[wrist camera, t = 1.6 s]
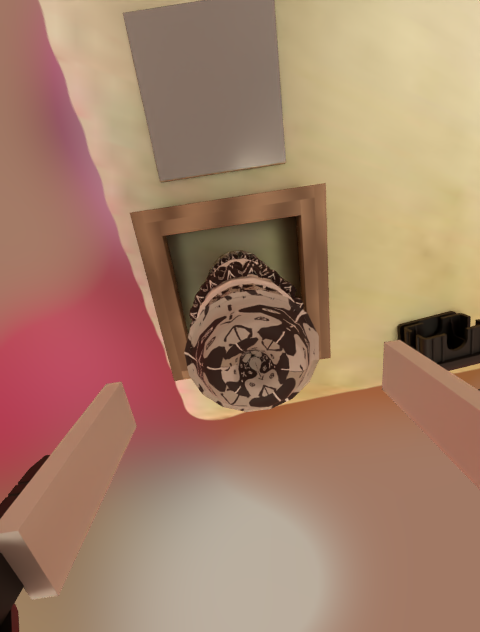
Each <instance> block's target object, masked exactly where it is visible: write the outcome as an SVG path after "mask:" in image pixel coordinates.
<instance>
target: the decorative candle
mask: <svg viewBox="0 0 480 632" xmlns="http://www.w3.org/2000/svg"><path fill="white" fill-rule="evenodd" d="M295 293H296V288H295V287H294V286H293V285H292V284H291V283H289V282H287V281H284V279H283V278H281V277H280V276H279V274H278V273H277V272H276V271H274V270H271V269H270V268H269V267H268V266H266V265H265V263H264V262H263V261H261V260H259V259H258V258H257V257H256V256H255V255H254V254H251V253H248V252H245V251H241V250H240V251H232V252H228V253H226V254H225V255H223V256H221V257H219V258H218V260H217V261H216V262H215V263H214V265H213V266H212V269H211V270H210V272H209V275H208V277H207V279H206V282H205V283H204V284H203V285H202V286H201V287H200V291H199V292H198V293H197V294H196V296H195V300H194V302H193V306H192V307H191V309H190V318H191V319H192V320H193V321H192V322H191V324H190V331H189V335H188V339H187V343H186V347H185V351H184V353H185V358H186V363H187V368H188V373H189V376H190V377H191V379H192V380H193V382H194V383H195V384H196V386H197V387H198V388H199V390H200V391H201V393H202V394H203V395H205V396H206V397H208V398H209V399H211V400H213V401H214V402H216V403H217V404H219V405H221V406H222V407H226V408H231V409H235V410H240V411H245V412H249V411H257V410H266V409H271V408H274V407H276V406H278V405H280V404H282V403H284V402H286V401H288V400H290V399H293V398H294V397H295V396H296V395H297V394H298V393H299V392H300V391H301V390H302V389H303V388H304V387H305V386H306V385H307V384H308V383H309V382H310V379H311V377H312V375H313V372H314V370H315V368H316V365H317V363H318V361H319V335H318V333H317V331H316V329H315V327H314V325H313V323H312V321H311V319H310V317H309V315H308V313H306V312H305V311H304V310H303V308H304V307H305V306H304V303H303V302H302V300H301V299H299V298H298V297H296V296H295Z"/></svg>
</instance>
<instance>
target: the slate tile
mask: <svg viewBox="0 0 480 632" xmlns="http://www.w3.org/2000/svg"><path fill="white" fill-rule="evenodd" d="M123 15H124V20H125V24H126V29H127V34H128V38H129V43H130V47H131V52H132V56H133V61H134V65H135V70H136V74H137V79H138V84H139V88H140V93H141V97H142V102H143V106H144V111H145V115H146V120H147V124H148V129H149V134H150V138H151V143H152V147H153V152H154V156H155V161H156V165H157V170H158V174H159V179H160V182H167V181H173V180H180V179H186V178H193V177H199V176H206V175H213V174H219V173H226V172H232V171H239V170H245V169H252V168H259V167H265V166H272V165H278V164H285V163H286V155H285V141H284V127H283V114H282V100H281V86H280V72H279V59H278V45H277V31H276V17H275V4H274V0H203V1H196V2H190V3H184V4H177V5H171V6H164V7H158V8H152V9H145V10H139V11H132V12H126V13H123Z"/></svg>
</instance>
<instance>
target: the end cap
mask: <svg viewBox="0 0 480 632" xmlns="http://www.w3.org/2000/svg"><path fill="white" fill-rule="evenodd" d="M470 317H471V316H468V315H465V314H462V313H457V314H456V313H455V312H453V311H449V312H446V313H442V314H438V315H434V316H430V317H426V318H422V319H418V320H414V321H410V322H407V323H403V324H400V325H399V326H398V340H401V341H402V342H404V343H405V344H407V345H408V346H410V347H411V348H413V349H415V350H416V351H418V352H419V353H421V354H422V355H424V356H426V357H427V358H429V359H430V360H432V361H433V362H435V363H437V364H438V365H440V366H441V367H443V368H444V369H446V370H447V371H450V370H454V369H458V368H462V367H466V366H470V365H474V364H478V363H480V320H479V319H478V320H476V325H475V326H472V327H470Z"/></svg>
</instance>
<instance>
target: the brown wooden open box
mask: <svg viewBox="0 0 480 632" xmlns="http://www.w3.org/2000/svg"><path fill="white" fill-rule="evenodd" d="M130 215H131V219H132V223H133V226H134V230H135V234H136V238H137V241H138V245H139V249H140V253H141V257H142V260H143V264H144V268H145V272H146V275H147V279H148V283H149V287H150V291H151V294H152V298H153V302H154V306H155V310H156V313H157V317H158V321H159V325H160V328H161V332H162V336H163V340H164V344H165V347H166V351H167V355H168V359H169V362H170V366H171V370H172V373H173V378H174V381H177V380H183V379H190V378H191V377H190V376H189V373H188V368H187V363H186V358H185V353H184V351H185V347H186V343H187V339H188V331H187V327H186V322H185V318H184V314H183V309H182V305H181V300H180V296H179V292H178V287H177V283H176V278H175V274H174V270H173V265H172V261H171V256H170V252H169V248H168V243H167V239H166V235H173V234H179V233H186V232H192V231H199V230H206V229H212V228H219V227H226V226H232V225H239V224H245V223H252V222H259V221H265V220H272V219H279V218H285V217H292V216H296V225H297V240H298V255H299V271H300V286H301V300H302V302H303V303H304V306H305V307H304V308H303V310H304V311H305V312H306V313H308V315H309V317H310V319H311V321H312V323H313V325H314V327H315V329H316V331H317V333H318V335H319V359H325V358H330V323H329V288H328V253H327V218H326V183H324V184H317V185H310V186H304V187H297V188H291V189H284V190H277V191H271V192H264V193H258V194H251V195H245V196H238V197H231V198H225V199H218V200H212V201H205V202H198V203H192V204H185V205H179V206H172V207H165V208H159V209H152V210H146V211H139V212H132V213H130Z"/></svg>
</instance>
